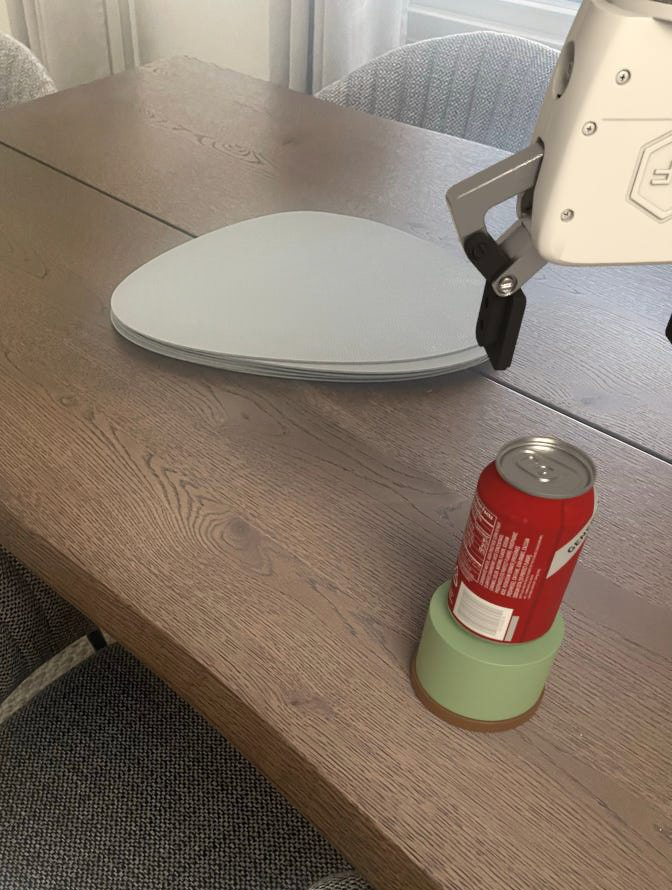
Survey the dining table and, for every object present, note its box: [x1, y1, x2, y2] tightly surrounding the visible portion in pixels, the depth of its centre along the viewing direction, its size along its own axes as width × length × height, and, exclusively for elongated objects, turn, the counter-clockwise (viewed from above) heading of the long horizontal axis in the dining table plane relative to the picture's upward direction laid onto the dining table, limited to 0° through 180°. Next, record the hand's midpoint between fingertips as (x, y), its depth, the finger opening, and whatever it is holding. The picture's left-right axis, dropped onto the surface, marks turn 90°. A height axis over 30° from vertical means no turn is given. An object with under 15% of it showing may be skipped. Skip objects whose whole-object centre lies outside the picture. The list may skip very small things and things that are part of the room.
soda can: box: [447, 435, 600, 646], centre depth 58 cm, size 7×7×12 cm
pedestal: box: [409, 577, 566, 733], centre depth 65 cm, size 9×9×6 cm
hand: (587, 353), depth 50 cm, fingers open, 9 cm apart
